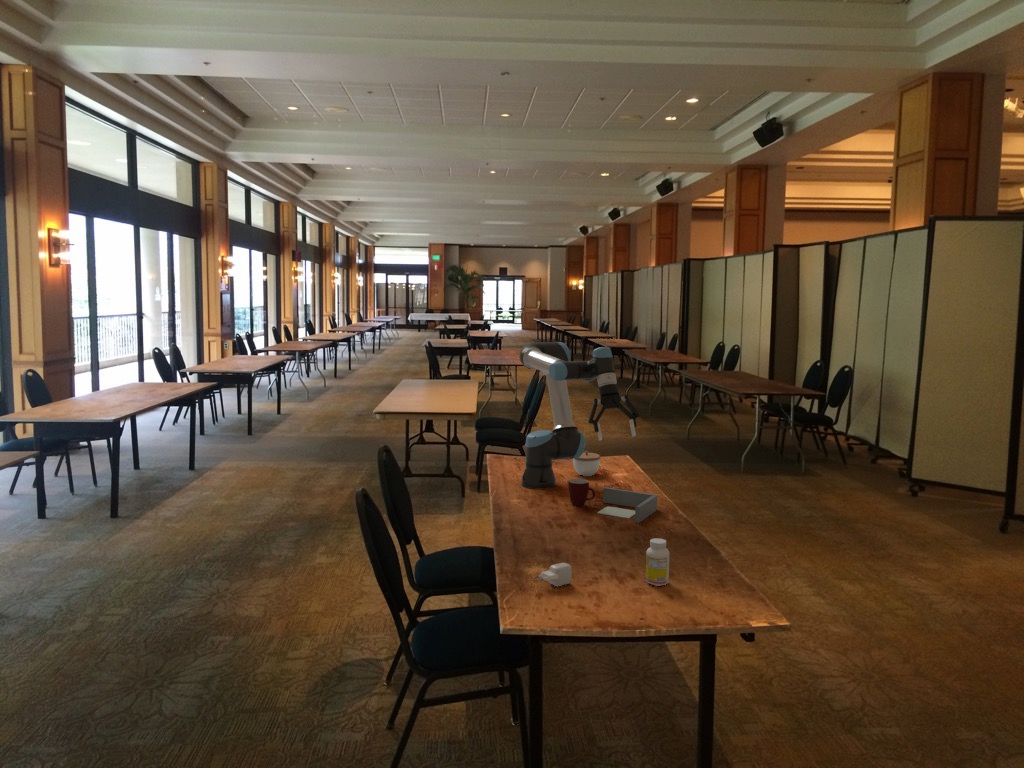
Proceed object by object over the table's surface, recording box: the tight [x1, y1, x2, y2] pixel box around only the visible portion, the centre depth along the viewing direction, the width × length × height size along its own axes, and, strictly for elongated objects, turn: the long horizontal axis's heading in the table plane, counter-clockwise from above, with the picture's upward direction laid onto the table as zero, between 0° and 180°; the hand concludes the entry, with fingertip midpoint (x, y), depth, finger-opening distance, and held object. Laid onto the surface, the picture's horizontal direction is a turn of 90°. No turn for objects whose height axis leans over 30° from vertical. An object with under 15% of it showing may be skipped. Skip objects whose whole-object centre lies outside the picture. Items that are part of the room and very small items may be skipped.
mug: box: [567, 478, 596, 508], centre depth 301 cm, size 11×8×10 cm
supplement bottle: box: [645, 537, 670, 585], centre depth 222 cm, size 7×7×13 cm
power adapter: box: [534, 562, 573, 587], centre depth 219 cm, size 11×5×6 cm, turn 122°
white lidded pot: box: [572, 450, 601, 477], centre depth 352 cm, size 13×13×11 cm
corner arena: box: [597, 486, 658, 524], centre depth 293 cm, size 22×20×6 cm
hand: (617, 438), depth 295 cm, fingers open, 13 cm apart
